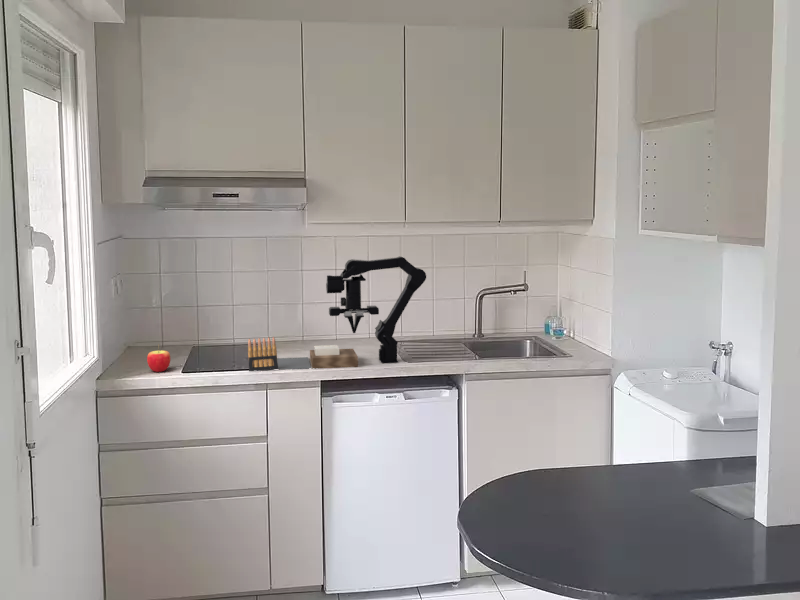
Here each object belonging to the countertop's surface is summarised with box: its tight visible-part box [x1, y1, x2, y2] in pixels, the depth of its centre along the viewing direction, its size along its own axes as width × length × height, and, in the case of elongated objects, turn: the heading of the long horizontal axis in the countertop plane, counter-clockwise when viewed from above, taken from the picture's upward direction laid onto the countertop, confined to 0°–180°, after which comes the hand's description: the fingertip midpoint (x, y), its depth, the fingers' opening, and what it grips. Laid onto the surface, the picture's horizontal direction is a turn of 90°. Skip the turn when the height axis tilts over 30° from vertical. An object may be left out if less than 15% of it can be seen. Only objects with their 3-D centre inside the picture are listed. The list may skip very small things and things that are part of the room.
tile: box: [313, 344, 340, 356], centre depth 313 cm, size 9×7×2 cm
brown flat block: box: [309, 348, 359, 369], centre depth 314 cm, size 17×16×4 cm
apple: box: [146, 343, 171, 373], centre depth 301 cm, size 8×8×10 cm
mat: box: [277, 356, 312, 370], centre depth 313 cm, size 14×20×1 cm
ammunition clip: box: [247, 336, 278, 372], centre depth 302 cm, size 11×2×12 cm, turn 99°
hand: (354, 332), depth 314 cm, fingers closed
